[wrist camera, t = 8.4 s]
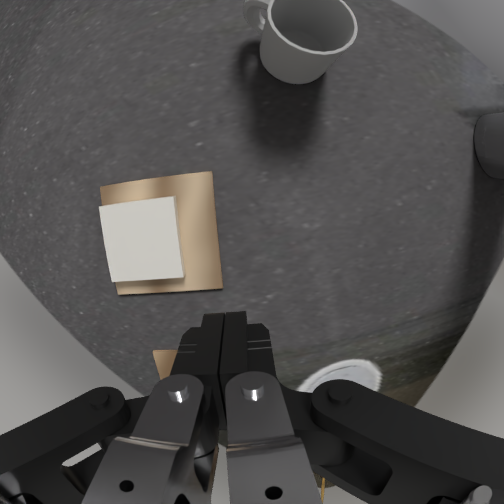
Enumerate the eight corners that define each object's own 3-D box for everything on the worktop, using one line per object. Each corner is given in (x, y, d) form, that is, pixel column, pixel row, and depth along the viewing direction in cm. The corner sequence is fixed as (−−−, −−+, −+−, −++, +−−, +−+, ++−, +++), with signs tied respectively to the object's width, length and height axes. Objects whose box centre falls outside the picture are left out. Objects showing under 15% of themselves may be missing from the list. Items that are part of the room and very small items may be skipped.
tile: (173, 196, 27) (98, 206, 26) (183, 277, 29) (112, 281, 29) (176, 195, 28) (104, 205, 28) (185, 272, 30) (116, 277, 30)
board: (212, 171, 28) (211, 171, 28) (223, 286, 31) (223, 288, 31) (101, 186, 28) (99, 186, 27) (119, 292, 31) (118, 294, 30)
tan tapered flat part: (260, 344, 34) (260, 349, 32) (262, 372, 35) (263, 378, 33) (153, 349, 33) (151, 355, 32) (161, 377, 34) (159, 382, 33)
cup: (302, 98, 26) (328, 71, 18) (222, 47, 25) (218, 5, 16) (338, 54, 25) (371, 21, 17) (263, 6, 23) (271, -40, 15)
